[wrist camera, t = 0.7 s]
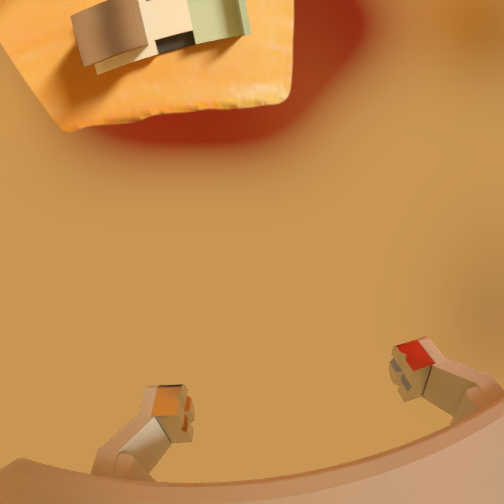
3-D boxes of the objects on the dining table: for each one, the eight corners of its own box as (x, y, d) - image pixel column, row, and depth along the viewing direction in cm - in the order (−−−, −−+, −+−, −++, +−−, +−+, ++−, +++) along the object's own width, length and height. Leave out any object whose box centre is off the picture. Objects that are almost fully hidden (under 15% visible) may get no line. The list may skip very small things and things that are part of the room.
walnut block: (99, 62, 36) (83, 67, 29) (88, 19, 30) (70, 16, 23) (148, 44, 36) (141, 45, 29) (138, 1, 31) (129, -8, 24)
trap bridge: (101, 73, 39) (92, 77, 35) (85, 12, 31) (74, 10, 27) (243, 35, 41) (251, 34, 36) (231, -27, 33) (238, -35, 28)
